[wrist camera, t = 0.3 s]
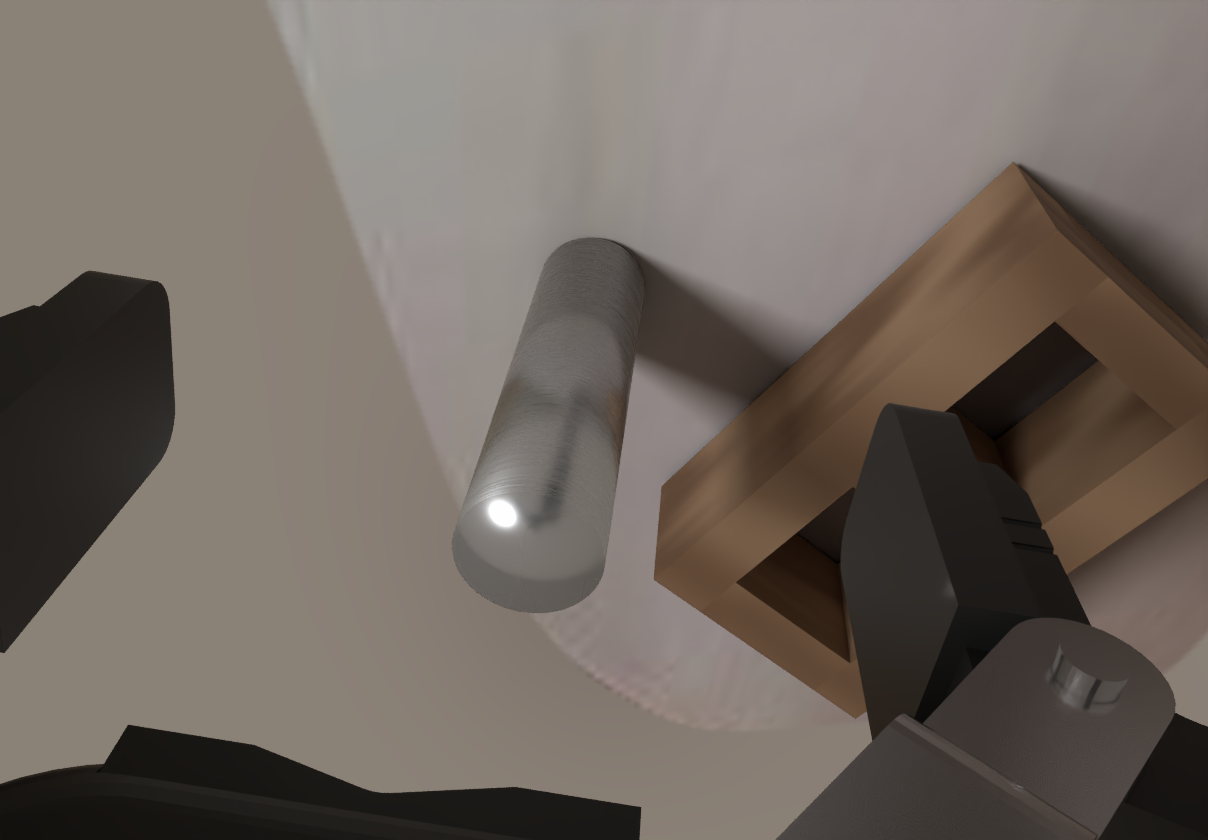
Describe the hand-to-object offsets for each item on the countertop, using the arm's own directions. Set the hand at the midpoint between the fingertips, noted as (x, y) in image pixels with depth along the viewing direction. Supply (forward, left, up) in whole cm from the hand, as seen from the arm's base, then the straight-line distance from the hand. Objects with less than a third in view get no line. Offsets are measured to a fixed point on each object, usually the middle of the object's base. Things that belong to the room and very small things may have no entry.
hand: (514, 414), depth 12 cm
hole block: (+3, +14, -18) cm, 23 cm away
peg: (+6, +4, -18) cm, 19 cm away
